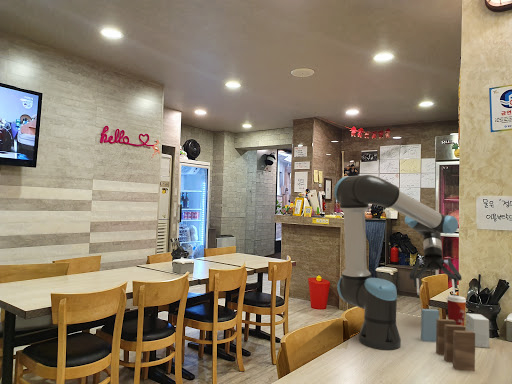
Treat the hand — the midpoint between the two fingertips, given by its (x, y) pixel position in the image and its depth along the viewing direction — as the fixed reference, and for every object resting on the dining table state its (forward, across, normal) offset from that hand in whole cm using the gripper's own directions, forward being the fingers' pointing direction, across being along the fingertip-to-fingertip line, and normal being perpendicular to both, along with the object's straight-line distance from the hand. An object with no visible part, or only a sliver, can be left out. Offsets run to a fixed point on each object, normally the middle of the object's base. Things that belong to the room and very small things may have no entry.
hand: (435, 294), depth 155 cm
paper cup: (+7, -6, -19) cm, 21 cm away
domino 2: (+30, -5, +12) cm, 33 cm away
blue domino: (+19, +3, -1) cm, 19 cm away
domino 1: (+26, -2, +8) cm, 28 cm away
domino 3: (+33, -7, +17) cm, 38 cm away
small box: (+17, -13, -7) cm, 22 cm away
